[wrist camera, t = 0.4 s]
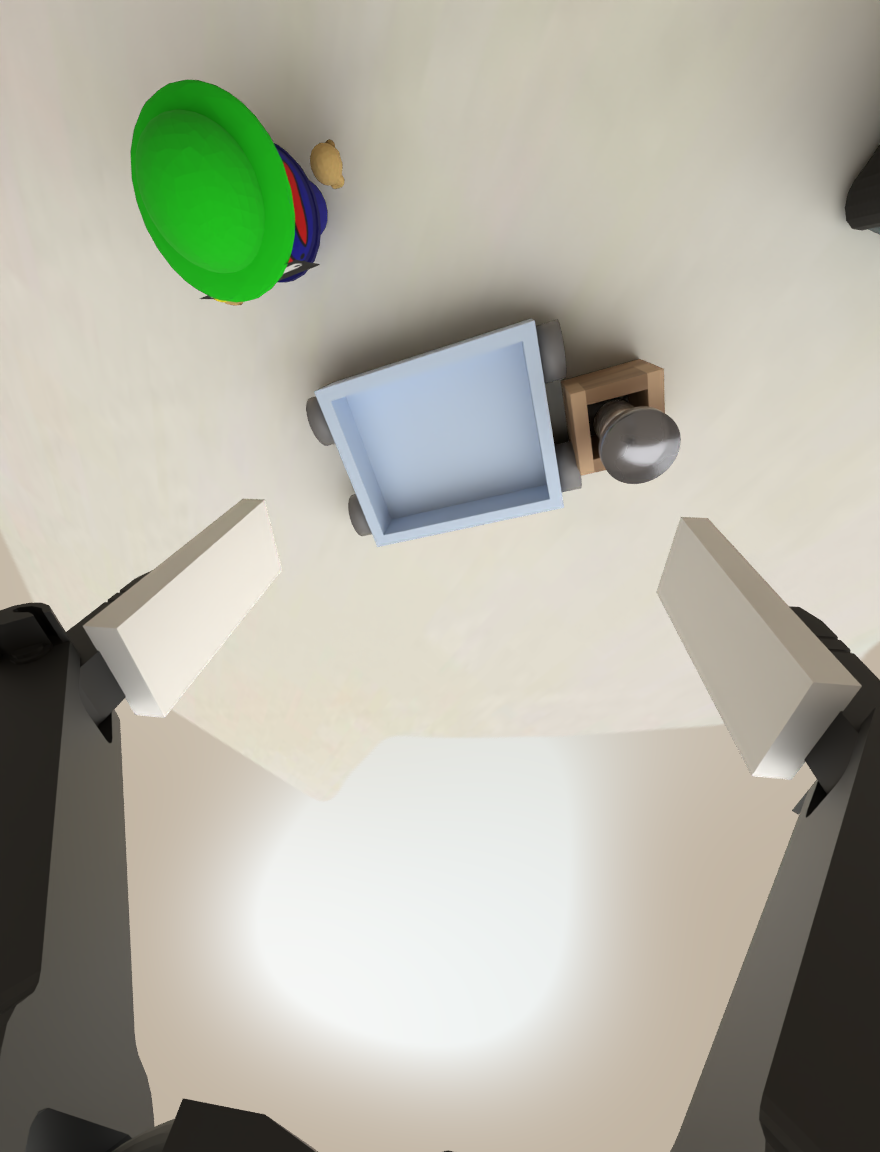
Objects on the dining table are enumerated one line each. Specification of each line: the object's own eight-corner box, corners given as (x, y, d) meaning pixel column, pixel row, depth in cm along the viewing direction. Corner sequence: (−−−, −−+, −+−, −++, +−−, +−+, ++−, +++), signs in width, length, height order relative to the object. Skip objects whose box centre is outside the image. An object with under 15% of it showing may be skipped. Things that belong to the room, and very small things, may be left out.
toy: (280, 340, 36) (161, 360, 23) (202, 227, 33) (13, 181, 20) (394, 244, 32) (323, 207, 19) (319, 102, 28) (171, -57, 16)
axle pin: (580, 398, 32) (598, 421, 26) (644, 381, 30) (680, 401, 24) (587, 456, 34) (605, 490, 28) (647, 442, 33) (680, 474, 27)
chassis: (315, 388, 38) (295, 397, 34) (553, 311, 33) (560, 312, 29) (373, 529, 45) (360, 550, 41) (577, 483, 39) (585, 503, 36)
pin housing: (560, 381, 35) (570, 394, 30) (639, 358, 34) (663, 368, 29) (570, 452, 38) (581, 475, 33) (643, 435, 37) (665, 456, 32)
